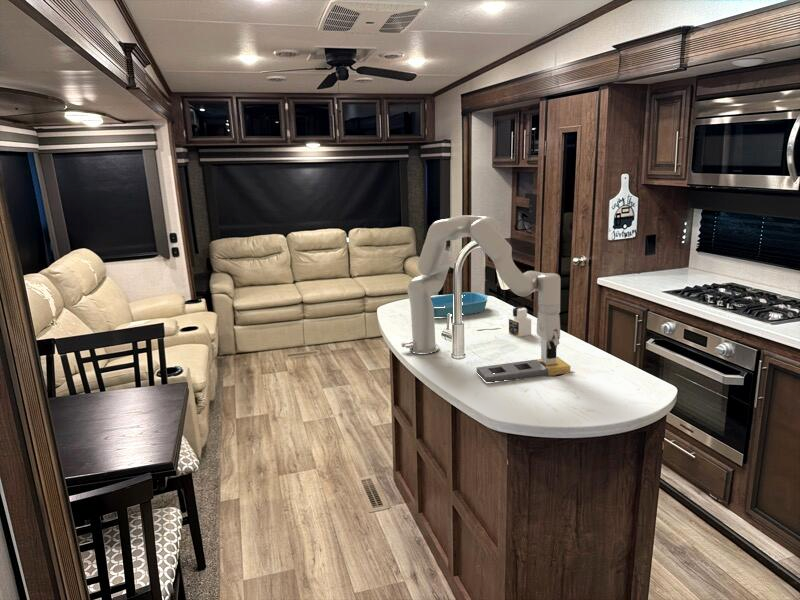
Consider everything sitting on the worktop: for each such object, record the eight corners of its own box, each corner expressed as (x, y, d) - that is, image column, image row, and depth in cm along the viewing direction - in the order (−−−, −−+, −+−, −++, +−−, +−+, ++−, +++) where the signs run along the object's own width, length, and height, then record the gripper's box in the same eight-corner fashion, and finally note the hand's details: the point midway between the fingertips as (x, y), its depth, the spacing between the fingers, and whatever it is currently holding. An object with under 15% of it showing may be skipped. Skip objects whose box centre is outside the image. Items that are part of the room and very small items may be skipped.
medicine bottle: (508, 333, 244) (508, 307, 241) (521, 330, 247) (521, 304, 244) (518, 337, 238) (518, 311, 235) (531, 334, 240) (531, 308, 237)
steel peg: (546, 366, 198) (546, 340, 196) (541, 362, 202) (541, 337, 199) (556, 365, 199) (556, 339, 196) (551, 361, 203) (551, 335, 200)
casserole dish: (427, 323, 267) (427, 309, 265) (413, 311, 288) (412, 298, 286) (495, 312, 277) (495, 299, 275) (477, 302, 298) (476, 290, 296)
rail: (486, 384, 192) (486, 377, 191) (476, 373, 201) (476, 367, 200) (570, 372, 197) (570, 365, 197) (557, 362, 207) (557, 356, 206)
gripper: (529, 303, 202) (529, 349, 207) (550, 315, 186) (549, 365, 191) (548, 301, 204) (547, 347, 208) (570, 312, 188) (569, 362, 192)
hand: (548, 355), depth 200 cm, fingers closed on steel peg, 4 cm apart
